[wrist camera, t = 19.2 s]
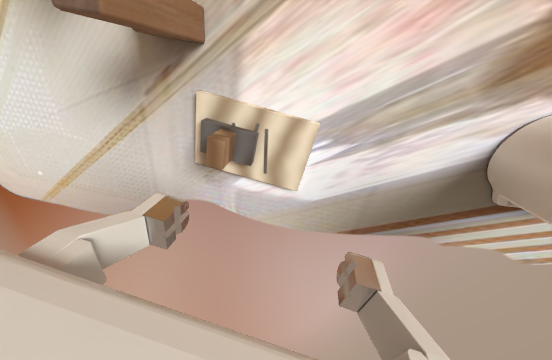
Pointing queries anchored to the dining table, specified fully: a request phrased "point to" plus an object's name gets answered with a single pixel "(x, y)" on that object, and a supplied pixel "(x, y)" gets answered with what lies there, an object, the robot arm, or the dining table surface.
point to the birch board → (261, 139)
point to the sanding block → (227, 144)
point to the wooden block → (145, 15)
